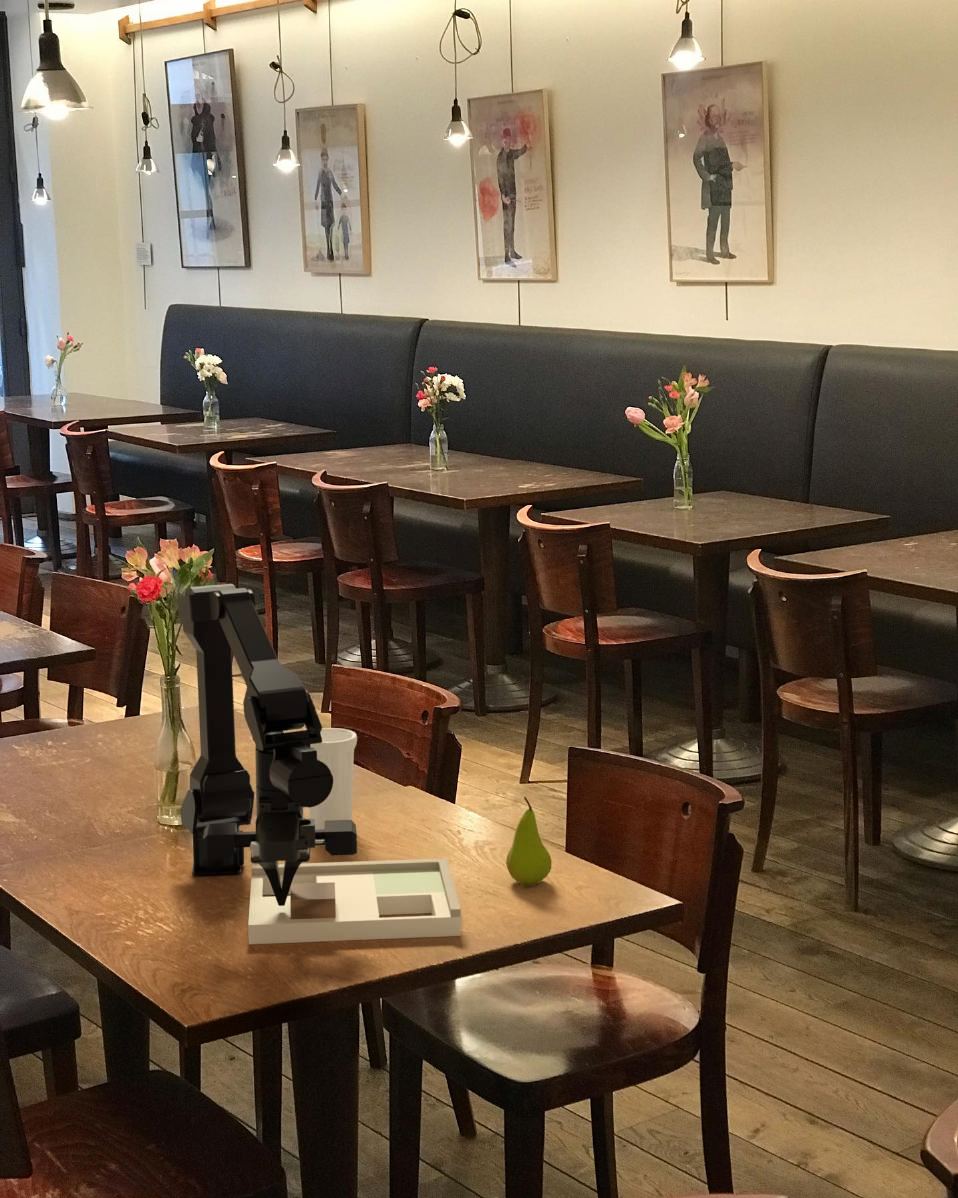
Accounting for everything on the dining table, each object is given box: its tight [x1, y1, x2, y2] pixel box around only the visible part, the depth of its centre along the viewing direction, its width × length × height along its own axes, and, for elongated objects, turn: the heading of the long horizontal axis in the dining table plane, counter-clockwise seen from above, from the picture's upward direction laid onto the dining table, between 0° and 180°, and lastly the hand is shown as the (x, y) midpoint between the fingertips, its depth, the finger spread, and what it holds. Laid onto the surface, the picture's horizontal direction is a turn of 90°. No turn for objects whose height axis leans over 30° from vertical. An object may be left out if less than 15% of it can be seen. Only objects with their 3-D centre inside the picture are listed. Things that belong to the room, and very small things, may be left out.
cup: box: [308, 727, 358, 830], centre depth 236 cm, size 8×8×14 cm
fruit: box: [505, 796, 553, 887], centre depth 215 cm, size 6×6×12 cm
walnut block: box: [290, 882, 336, 919], centre depth 199 cm, size 6×6×2 cm
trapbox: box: [247, 857, 462, 945], centre depth 205 cm, size 26×18×4 cm
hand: (281, 904), depth 199 cm, fingers closed
